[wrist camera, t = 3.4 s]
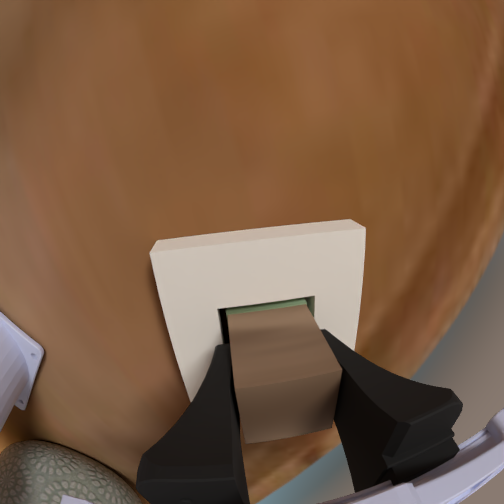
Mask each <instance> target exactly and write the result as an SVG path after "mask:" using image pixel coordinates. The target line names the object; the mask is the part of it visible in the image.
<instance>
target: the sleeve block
mask: <svg viewBox="0 0 504 504" xmlns="http://www.w3.org/2000/svg"><path fill="white" fill-rule="evenodd" d="M365 235H366V228H365V227H363V226H361V225H360V224H358V223H356V222H354V221H353V220H351V219H347V220H336V221H325V222H315V223H305V224H295V225H285V226H276V227H266V228H257V229H248V230H239V231H230V232H222V233H213V234H205V235H197V236H189V237H181V238H173V239H165V240H157V241H156V243H155V245H154V246H153V248H152V250H151V251H150V257H151V262H152V266H153V271H154V275H155V280H156V284H157V288H158V293H159V297H160V301H161V305H162V309H163V313H164V316H165V320H166V324H167V328H168V331H169V335H170V338H171V342H172V345H173V349H174V352H175V355H176V359H177V362H178V365H179V368H180V372H181V375H182V378H183V381H184V384H185V387H186V390H187V393H188V396H189V399H190V402H192V400H193V399H194V397H195V395H196V394H197V392H198V390H199V388H200V386H201V384H202V382H203V380H204V378H205V376H206V373H207V371H208V369H209V366H210V364H211V361H212V358H213V354H214V351H215V347H216V346H217V345H220V344H225V341H224V335H223V329H222V322H221V316H220V310H219V309H220V308H228V307H237V306H245V305H253V304H260V303H267V302H275V301H282V300H289V299H295V298H302V297H305V300H306V302H307V307H308V309H309V310H310V312H311V314H312V316H313V318H314V319H315V321H316V323H317V325H318V327H319V328H320V330H321V329H326V330H327V331H329V332H330V333H331V334H332V335H334V336H335V337H336V338H337V339H339V340H340V341H341V342H343V343H344V344H345V345H347V346H348V347H349V348H351V349H352V350H353V351H354V348H355V342H356V335H357V327H358V319H359V311H360V302H361V292H362V282H363V269H364V255H365Z"/></svg>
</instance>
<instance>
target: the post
mask: <svg viewBox="0 0 504 504" xmlns="http://www.w3.org/2000/svg"><path fill="white" fill-rule="evenodd" d="M226 316H227V323H228V329H229V337H230V347H231V357H232V367H233V377H234V386H235V393H236V398H237V403H238V409H239V414H240V419H241V424H242V429H243V434H244V439H245V444H251V443H258V442H265V441H271V440H277V439H283V438H289V437H294V436H299V435H304V434H308V433H313V432H317V431H321V430H325V429H329V428H332V424H333V419H334V414H335V409H336V404H337V398H338V393H339V387H340V381H341V374H342V368H341V366H340V365H339V363H338V361H337V359H336V357H335V355H334V354H333V352H332V350H331V348H330V346H329V345H328V343H327V341H326V339H325V337H324V336H323V334H322V332H321V330H320V328H319V327H318V325H317V323H316V321H315V319H314V318H313V316H312V314H311V312H310V310H309V309H308V307H307V302H306V300H305V299H304V297H302V298H295V299H289V300H282V301H275V302H267V303H260V304H253V305H245V306H237V307H228V308H226Z"/></svg>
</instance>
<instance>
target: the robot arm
mask: <svg viewBox="0 0 504 504" xmlns="http://www.w3.org/2000/svg"><path fill="white" fill-rule="evenodd" d="M321 332H322V334H323V336H324V337H325V339H326V341H327V343H328V345H329V346H330V348H331V350H332V352H333V354H334V355H335V357H336V359H337V361H338V363H339V365H340V366H341V368H342V374H341V381H340V387H339V393H338V398H337V404H336V409H335V414H334V422H335V424H336V427H337V430H338V433H339V436H340V439H341V442H342V445H343V448H344V452H345V455H346V458H347V462H348V465H349V469H350V473H351V477H352V482H353V486H354V490H355V493H353V494H350V495H347V496H344V497H340V498H337V499H334V500H330V501H326V502H322V503H318V504H458V503H460V502H461V501H462V500H464V499H465V498H467V497H468V496H470V495H471V494H472V493H474V492H475V491H476V490H478V489H479V488H480V487H481V486H483V485H484V484H485V483H487V482H488V481H489V480H491V479H492V478H493V477H494V476H495V475H496V474H498V473H499V472H500V471H501V470H503V469H504V408H503V409H502V410H500V411H499V412H498V413H497V414H495V415H494V416H493V417H492V418H491V420H490V421H489V422H488V424H487V425H486V427H485V428H484V429H482V430H481V431H479V432H478V433H476V434H475V435H473V436H472V437H470V438H469V439H467V440H466V441H464V442H463V443H461V444H459V445H458V446H457V444H456V443H455V441H454V440H453V438H452V437H454V432H453V431H452V429H451V428H452V426H453V425H454V423H455V422H456V420H457V419H458V417H459V415H460V413H461V411H462V407H463V404H462V402H461V401H460V400H459V398H458V397H457V396H456V395H455V393H454V392H453V391H452V390H451V389H448V388H442V387H436V386H430V385H426V384H422V383H419V382H415V381H412V380H409V379H406V378H404V377H401V376H398V375H396V374H393V373H391V372H389V371H387V370H385V369H383V368H381V367H379V366H377V365H375V364H374V363H372V362H370V361H369V360H367V359H365V358H364V357H362V356H361V355H359V354H358V353H356V352H355V351H353V350H352V349H351V348H349V347H348V346H347V345H345V344H344V343H343V342H341V341H340V340H339V339H337V338H336V337H335V336H334V335H332V334H331V333H330V332H329V331H327V330H326V329H321ZM43 355H44V350H43V348H42V347H41V346H40V345H39V344H38V343H37V342H35V341H34V340H33V339H32V338H30V337H29V336H28V335H27V334H26V333H24V332H23V331H22V330H21V329H20V328H18V327H17V326H16V325H15V324H14V323H13V322H11V321H10V320H9V319H8V318H7V317H6V316H5V315H4V314H3V313H1V312H0V432H1V430H2V428H3V426H4V424H5V422H6V420H7V418H8V416H9V414H10V412H11V410H12V408H13V406H14V405H15V406H17V407H18V408H19V409H21V410H25V409H26V406H27V403H28V399H29V396H30V393H31V390H32V387H33V383H34V380H35V377H36V374H37V372H38V369H39V366H40V363H41V360H42V358H43ZM136 489H137V491H138V492H139V493H140V494H141V495H142V496H143V497H144V498H145V499H146V500H147V501H149V502H150V503H151V504H250V501H249V495H248V489H247V483H246V477H245V470H244V464H243V457H242V450H241V441H240V414H239V409H238V403H237V398H236V393H235V386H234V377H233V367H232V357H231V347H230V343H229V344H220V345H217V346H216V347H215V351H214V354H213V358H212V361H211V364H210V366H209V369H208V371H207V373H206V376H205V378H204V380H203V382H202V384H201V386H200V388H199V390H198V392H197V394H196V395H195V397H194V399H193V400H192V402H191V404H190V405H189V407H188V408H187V409H186V411H185V412H184V413H183V415H182V416H181V417H180V419H179V420H178V421H177V422H176V424H175V425H174V426H173V427H172V428H171V429H170V430H169V431H168V432H167V433H166V434H165V435H164V436H163V437H162V438H161V439H160V440H159V441H158V442H157V443H156V444H155V445H153V446H152V447H151V448H150V449H149V450H147V451H146V452H145V453H144V454H143V455H142V458H141V461H140V464H139V468H138V472H137V481H136ZM60 504H95V503H93V502H91V501H88V500H85V499H81V498H77V497H73V496H70V495H66V494H63V495H62V499H61V503H60Z"/></svg>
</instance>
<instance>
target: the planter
mask: <svg viewBox="0 0 504 504" xmlns="http://www.w3.org/2000/svg"><path fill="white" fill-rule="evenodd" d="M63 494H66V495H70V496H73V497H77V498H81V499H85V500H88V501H91V502H93V503H95V504H142V502H141V500H140V498H139V497H138V496H137V494H136V493H135V492H134V490H133V489H132V488H131V487H130V486H129V485H128V484H127V483H126V482H125V481H124V480H123V479H122V478H121V477H119V476H118V475H117V474H116V473H114V472H113V471H112V470H110V469H109V468H107V467H106V466H104V465H102V464H100V463H99V462H97V461H95V460H93V459H91V458H89V457H87V456H85V455H83V454H81V453H78V452H76V451H74V450H71V449H69V448H66V447H63V446H60V445H57V444H54V443H50V442H45V441H34V440H32V441H21V442H16V443H13V444H11V445H9V446H8V447H6V448H5V449H4V450H3V451H2V452H1V454H0V504H60V503H61V499H62V495H63Z"/></svg>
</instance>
